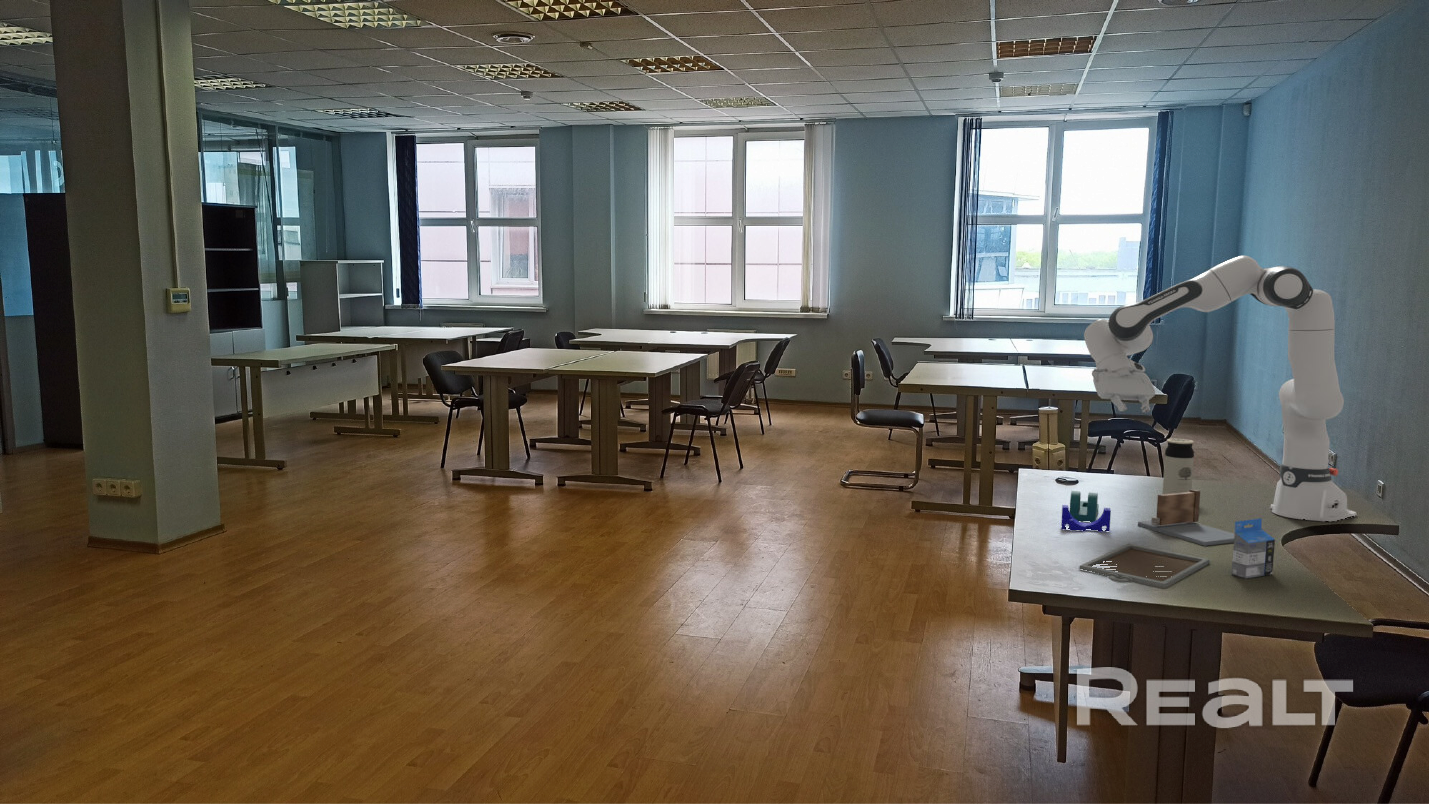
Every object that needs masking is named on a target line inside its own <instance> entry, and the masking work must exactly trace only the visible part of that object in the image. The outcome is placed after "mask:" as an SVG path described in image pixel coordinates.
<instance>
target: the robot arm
mask: <svg viewBox="0 0 1429 804" xmlns="http://www.w3.org/2000/svg"><path fill="white" fill-rule="evenodd" d="M1246 295H1250V296H1252V297H1253V298H1254V299H1255V300H1256V301H1258V302H1259V303H1261V304H1264V305H1267V306H1271V307H1277V308H1278V307H1282V308H1283V309H1285V310H1286V313H1287V316H1288V329H1287V330H1288V334H1287V335H1288V336H1287V337H1288V339H1287V340H1288V341H1287V347H1288V348H1287V349H1288V350H1287V358H1288V361H1289V364H1290V368H1291V373H1292V378H1291V379H1289V380H1287V381H1285V382H1284V383H1283V384H1281V387H1280V389H1279V393H1278V397H1279V401H1280V405H1281V418H1282V427H1283V450H1282V451H1283V452H1282V463H1280V465H1279V466H1280V467H1279V477H1280V478H1279V480H1278V481H1277V483H1276V487H1275V493H1274V498H1273V503H1271V504H1270V509H1271V512H1272V513H1273V514H1275V515H1278V516H1281V517H1285V518H1290V519H1296V520H1303V519H1305V520H1304V521H1306V520H1307V521H1315V522H1316V521H1317V522H1325V521H1335V522H1338V521H1337V520H1339V521H1341V520H1340V519H1343V520H1346V519H1345V518H1347V517H1350V516H1354V517H1356V516H1355V515H1357V512H1356V511H1354V510H1351V509H1348V496H1347V494H1346V493H1345V492H1344V491H1343V490H1342V489H1340V488H1339V487H1338V486H1337V485H1336V484H1335V483H1334V482H1333V481H1332V476H1335V477H1336V476H1338V475H1339V469H1338V468H1333V467H1329V455H1330V444H1331V441H1330V437H1329V434H1328V430H1327V423H1326V420H1330V419H1333V418H1336V417H1337V416H1338V415H1339V414H1340V413H1341V412H1342V410H1343V408H1344V404H1345V399H1344V396H1343V394H1342V392H1341V389H1340V383H1339V376H1338V372H1337V367H1336V366H1337V365H1336V359H1335V338H1336V337H1335V334H1336V332H1335V329H1336V326H1335V325H1336V324H1335V323H1336V322H1335V321H1336V320H1335V310H1334V305H1333V304H1334V303H1333V299H1332V297H1331V295H1330V294H1329V293H1328V292H1326V291H1324V290H1322V289H1318V288H1317V289H1316V288H1315V289H1314V288H1313V287H1312V285H1311V284H1310V282H1309V281H1308V279H1307V277H1306V276H1305V274H1304V273H1302V272H1301V271H1300V270H1299V269H1298V268H1294V267H1293V266H1292V267H1291V266H1282V265H1281V266H1279V265H1278V266H1273V267H1267V268H1264V267H1263V268H1262V267H1261V266H1260V265H1259V263H1258V262H1257V261H1256V259H1254V258H1253V257H1250V256H1248V255H1239V256H1236V257H1233V258H1230V259H1228V260H1226V261H1223V262H1221V263H1218V264H1217V265H1215V266H1213V267H1211V268H1209V269H1208V270H1206V271H1204V272H1203V273H1200V274H1199V275H1196V276H1195V277H1193V278H1191V279H1188V280H1185V281H1182V282H1179V283H1177V284H1175V285H1173V286H1170V287H1167V288H1166V289H1164V290H1162V291H1160V292H1158V293H1156V294H1154V295H1151V296H1150V297H1147V298H1145V299H1142V300H1141V301H1137V302H1134V303H1133V302H1132V303H1128V304H1123V305H1120V306H1119V307H1117V308H1115V309H1114V311H1112V312H1111V314H1110V316H1109V319H1105V318H1104V319H1103V318H1102V319H1100V318H1099V319H1096V320H1095V321H1093V322H1091V323H1090V324H1089V325H1088V326H1087V327H1086V328H1085V329H1084V330H1085V331H1084V333H1083V339H1084V342H1085V345H1086V347H1087V350H1088V353H1089V355H1090V356H1091V358H1092V359H1093V360H1094V362H1095V366H1096V368H1094V369H1093V370H1092V371H1091V376H1092V377H1093V385H1094V388H1095V391H1096V393H1097V396H1098V397H1100V399H1103V400H1110V401H1111V403H1112V404H1113V405H1114V406H1116V407H1117V409H1118V411H1119V412H1125V411H1127V410H1128V407H1127V405H1126V403H1124V402H1123V400H1124V401H1139V403H1140V404H1141V406H1140V409H1141V412H1142V413H1149V412H1150V411H1151V407H1150V400H1151V399H1152V398H1153V397H1155V395H1156V389H1155V388H1154V386H1153V383H1152V381H1151V379H1150V378H1149V376H1148V374H1146V373H1145V372H1146V368H1145V366H1144V365H1142V364H1141V363H1137V362H1136V361H1133V359H1130V358H1128V356H1132V355H1136V354H1139V353H1142V352H1144V351H1145V350H1148V348H1149V347H1150V346H1151V345H1152V343H1153V341H1154V333H1153V330H1152V328H1151V325H1150V324H1151V323H1153V322H1154V321H1155V320H1157V319H1159V318H1161V317H1163V316H1166V315H1167V314H1169V313H1172V312H1174V311H1175V310H1178V309H1182V308H1189V309H1193V310H1196V311H1199V312H1203V313H1211V312H1213V311H1216V310H1219V309H1221V308H1223V307H1225V306H1227V305H1229V304H1230V303H1232V302H1234V301H1235V300H1237V299H1239V298H1241V297H1243V296H1246ZM1357 516H1358V515H1357ZM1347 519H1348V518H1347Z"/></svg>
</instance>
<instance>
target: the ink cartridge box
mask: <svg viewBox="0 0 1429 804" xmlns="http://www.w3.org/2000/svg"><path fill="white" fill-rule="evenodd" d="M1262 521H1263V518H1261V517H1260V518H1254V519H1253V518H1252V519H1246V520H1237V521H1234V534H1235V537H1234V542H1233V548H1232V549H1233V551H1232V552H1233V553H1232V561H1231V574H1230V575H1233V576H1235V577H1238V578H1242V579H1246V580H1247V579H1251V578H1252V579H1253V578H1258V577H1262V576H1263V577H1265V576H1270V575H1271V574H1272V575H1273V569H1274V557H1275V547H1276V546H1275V544H1276V539H1275V538H1274V537H1272V536H1271V535H1270V534H1269V533H1267V532H1266V531H1265V530H1263V528H1262V523H1263V522H1262ZM1248 525H1250V526H1251V527H1250V526H1249V527H1245V526H1248Z"/></svg>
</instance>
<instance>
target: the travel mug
mask: <svg viewBox="0 0 1429 804" xmlns="http://www.w3.org/2000/svg"><path fill="white" fill-rule="evenodd" d="M1166 442H1167V447H1166V448H1165V450H1164V464H1163V465H1164V466H1163V482H1162V494H1172V493H1182V492H1189V490H1191V489H1193V478H1194V475H1193V474H1194V473H1193V472H1194V462H1195V461H1194V460H1195V451H1194V449H1193V444H1194V442H1195V441H1194V440H1191V439H1187V438H1167V439H1166Z"/></svg>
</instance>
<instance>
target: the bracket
mask: <svg viewBox="0 0 1429 804" xmlns="http://www.w3.org/2000/svg"><path fill="white" fill-rule="evenodd" d="M1070 492H1071V493H1070V499H1069V512H1070V514H1071V516H1072V517H1073V518H1074V519H1076V520H1077V521H1090V522H1094V521H1096V520H1097V519H1098V515H1097V514H1099V503H1098V499H1099V497H1098V495H1099V494H1098V492H1088V494H1087V500H1084V501H1083V500H1081V497H1082V496H1081V491H1075V490H1071V491H1070Z"/></svg>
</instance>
